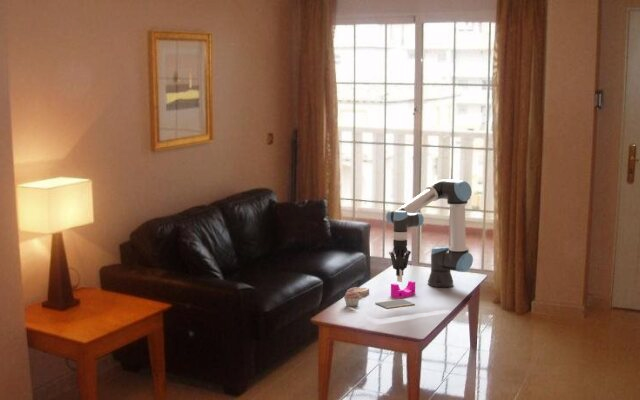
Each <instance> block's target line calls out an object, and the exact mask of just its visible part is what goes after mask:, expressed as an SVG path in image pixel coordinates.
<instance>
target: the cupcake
mask: <svg viewBox="0 0 640 400" xmlns="http://www.w3.org/2000/svg"><path fill="white" fill-rule="evenodd" d="M353 288H354V287H350V288H349V289H347V290H348V292H347V291H346V292H345V293H344V294H345V295H344V296H343V298H344V302H345V305H346V306H347V307H351V308H352V307H354V308H355V307H357V306H359V301H360V299H361V298H360V296H359V293H358V292H357V291H356V290H355V289H353Z"/></svg>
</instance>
